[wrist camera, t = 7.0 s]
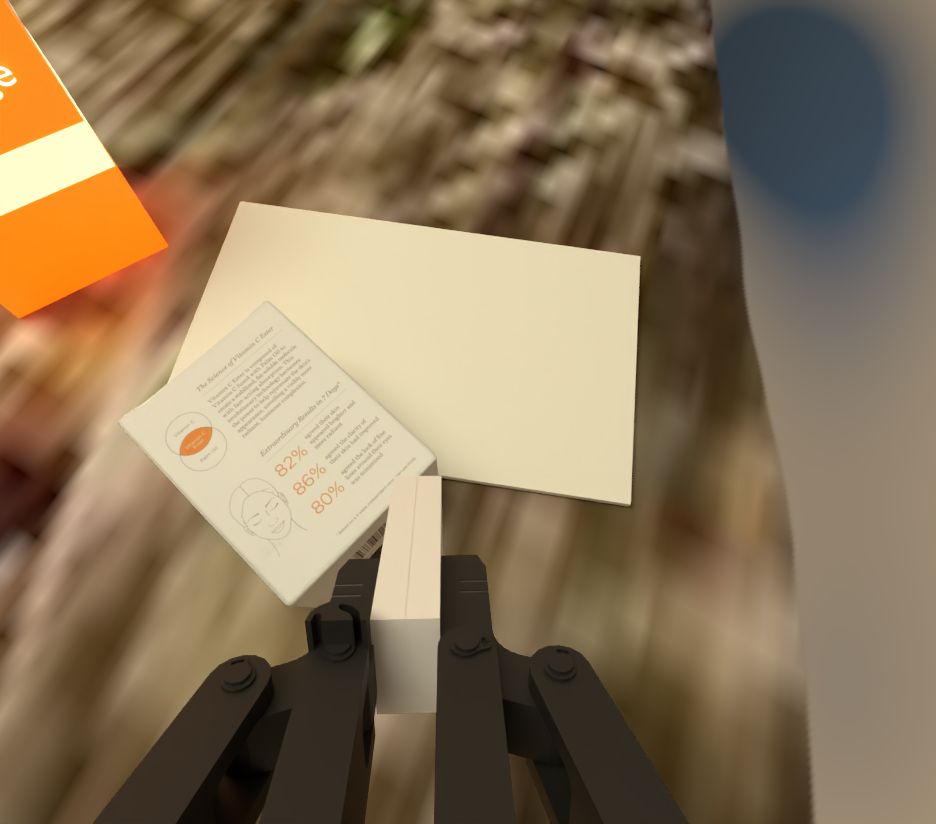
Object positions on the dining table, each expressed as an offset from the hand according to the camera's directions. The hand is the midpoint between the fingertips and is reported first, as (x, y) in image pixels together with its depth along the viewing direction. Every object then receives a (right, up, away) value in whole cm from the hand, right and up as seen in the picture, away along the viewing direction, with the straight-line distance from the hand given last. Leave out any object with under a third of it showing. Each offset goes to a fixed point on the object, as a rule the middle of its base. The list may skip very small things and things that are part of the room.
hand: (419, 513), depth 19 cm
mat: (-1, +7, +13) cm, 15 cm away
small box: (-2, -2, +6) cm, 6 cm away
